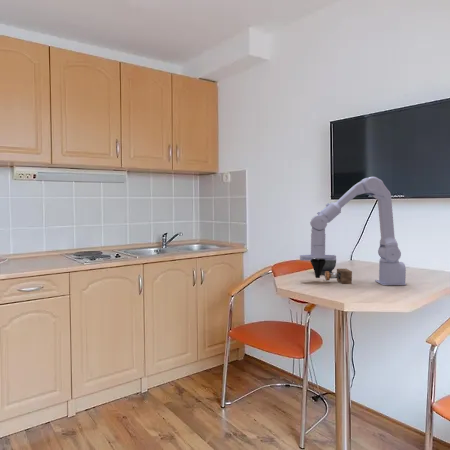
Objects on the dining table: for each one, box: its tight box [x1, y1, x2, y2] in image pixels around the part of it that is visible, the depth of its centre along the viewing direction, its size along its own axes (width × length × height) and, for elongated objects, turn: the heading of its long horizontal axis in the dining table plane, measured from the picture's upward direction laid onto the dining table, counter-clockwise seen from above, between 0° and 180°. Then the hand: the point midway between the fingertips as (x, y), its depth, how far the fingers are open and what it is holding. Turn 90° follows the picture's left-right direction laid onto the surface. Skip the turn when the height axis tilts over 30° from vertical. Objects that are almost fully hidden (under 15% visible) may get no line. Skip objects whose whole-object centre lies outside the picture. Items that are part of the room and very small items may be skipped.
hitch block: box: [336, 268, 353, 285], centre depth 162 cm, size 4×7×5 cm, turn 1°
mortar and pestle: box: [314, 258, 337, 276], centre depth 181 cm, size 11×9×12 cm
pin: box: [324, 271, 341, 281], centre depth 162 cm, size 6×4×4 cm, turn 91°
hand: (317, 277), depth 161 cm, fingers closed
